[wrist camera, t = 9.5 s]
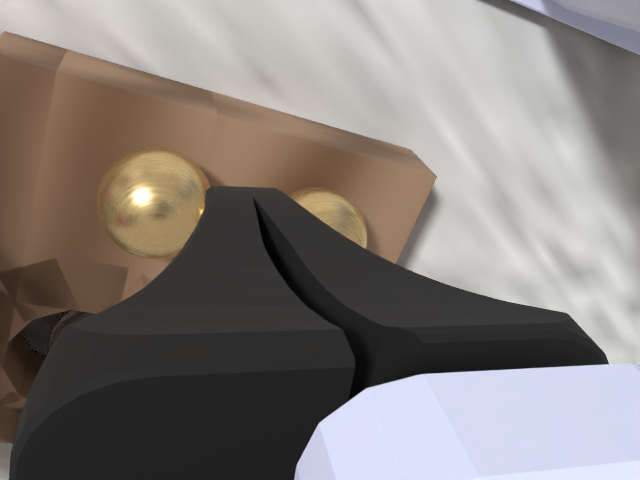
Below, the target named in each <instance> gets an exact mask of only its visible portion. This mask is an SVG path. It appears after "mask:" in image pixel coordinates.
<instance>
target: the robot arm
mask: <svg viewBox="0 0 640 480" xmlns="http://www.w3.org/2000/svg"><path fill="white" fill-rule="evenodd" d="M510 1H513V2H515V3H517V4H520V5H522V6H524V7H527V8H529V9H531V10H534V11H536V12H538V13H541V14H543V15H546V16H548V17H550V18H553V19H555V20H557V21H560V22H562V23H564V24H567V25H569V26H571V27H574V28H576V29H579V30H581V31H583V32H586V33H588V34H590V35H593V36H595V37H597V38H600V39H602V40H604V41H607V42H609V43H612V44H614V45H616V46H619V47H621V48H623V49H626V50H628V51H630V52H633V53H635V54H637V55H640V0H510ZM9 480H640V365H637V364H633V363H625V364H609V363H608V360H607V358H606V355H605V353H604V352H603V351H602V350H601V349H600V348H599V347H598V346H597V344H596V343H595V342H594V341H593V340H592V339H591V338H590V337H589V336H588V335H587V334H586V333H585V332H584V331H583V330H582V328H581V327H580V326H579V325H578V324H577V323H576V322H575V321H574V320H573V319H572V318H571V317H570V316H569V315H568V314H567V313H563V312H558V311H553V310H547V309H542V308H537V307H532V306H526V305H521V304H516V303H511V302H506V301H502V300H498V299H494V298H490V297H487V296H483V295H479V294H476V293H472V292H468V291H465V290H462V289H459V288H455V287H452V286H449V285H446V284H443V283H441V282H438V281H435V280H433V279H430V278H427V277H425V276H422V275H419V274H417V273H414V272H412V271H410V270H407V269H405V268H403V267H400V266H398V265H396V264H394V263H392V262H390V261H388V260H386V259H384V258H382V257H380V256H378V255H376V254H374V253H372V252H370V251H369V250H367V249H365V248H363V247H361V246H360V245H358V244H357V243H355V242H353V241H352V240H350V239H348V238H347V237H345V236H344V235H342V234H340V233H339V232H337V231H336V230H334V229H333V228H331V227H330V226H329V225H327V224H326V223H324V222H323V221H321V220H320V219H319V218H317V217H316V216H315V215H313V214H312V213H310V212H309V211H308V210H306V209H305V208H304V207H302V206H301V205H300V204H298V203H297V202H296V201H294V200H293V199H292V198H290V197H289V196H288V195H286V194H285V193H283V192H282V191H280V190H278V189H276V188H263V187H234V186H211V187H210V188H209V189H208V190H206V194H205V208H204V211H203V213H202V215H201V217H200V219H199V221H198V224H197V226H196V228H195V229H194V231H193V233H192V234H191V236H190V237H189V239H188V240H187V242H186V243H185V245H184V246H183V248H182V249H181V250H180V252H179V253H178V254H177V256H176V257H175V258H174V259H173V260H172V261H171V263H170V264H169V265H168V266H167V267H166V268H165V269H164V270H163V271H162V272H161V273H160V274H159V275H158V276H157V277H155V278H154V279H153V280H152V281H151V282H150V283H149V284H148V285H146V286H145V287H144V288H143V289H141V290H140V291H138V292H137V293H135V294H133V295H132V296H130V297H129V298H127V299H125V300H123V301H122V302H120V303H118V304H116V305H114V306H112V307H110V308H108V309H106V310H104V311H102V312H99V313H97V314H94V315H92V316H90V317H87V318H85V319H83V320H80V321H78V322H75V323H73V324H70V325H67V326H66V327H64V328H63V329H62V331H61V332H60V334H59V336H58V337H57V339H56V340H55V342H54V344H53V346H52V348H51V349H50V351H49V353H48V355H47V356H46V358H45V360H44V362H43V364H42V366H41V368H40V370H39V372H38V374H37V376H36V378H35V380H34V383H33V385H32V388H31V390H30V392H29V394H28V397H27V399H26V402H25V404H24V407H23V410H22V413H21V416H20V420H19V424H18V428H17V432H16V436H15V440H14V444H13V448H12V452H11V460H10V474H9Z"/></svg>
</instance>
